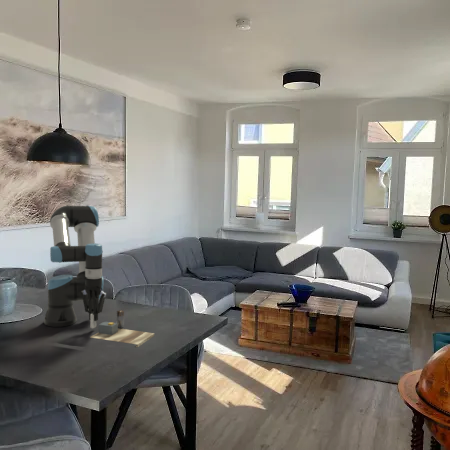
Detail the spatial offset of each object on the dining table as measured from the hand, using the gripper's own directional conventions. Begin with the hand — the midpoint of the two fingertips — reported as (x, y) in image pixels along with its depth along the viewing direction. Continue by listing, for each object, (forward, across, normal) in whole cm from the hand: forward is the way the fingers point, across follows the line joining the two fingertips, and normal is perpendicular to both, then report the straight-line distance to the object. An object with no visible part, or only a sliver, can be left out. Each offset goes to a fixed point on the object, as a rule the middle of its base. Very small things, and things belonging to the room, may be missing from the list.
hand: (93, 327), depth 215 cm
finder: (+2, +8, 0) cm, 8 cm away
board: (+3, +16, -1) cm, 16 cm away
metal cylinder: (+3, +9, +9) cm, 13 cm away
